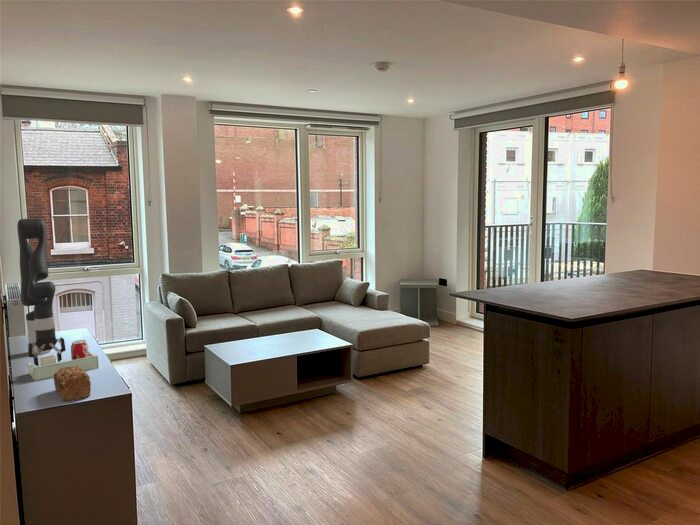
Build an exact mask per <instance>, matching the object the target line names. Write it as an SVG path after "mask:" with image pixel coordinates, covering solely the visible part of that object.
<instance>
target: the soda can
mask: <svg viewBox="0 0 700 525" xmlns="http://www.w3.org/2000/svg"><path fill="white" fill-rule="evenodd" d="M70 355H71V358H70V359H71V360H76V359H81V358H86V357H89V345H88V343H87V340H85V339H80V340H78V339H77V340H74V341H72V342H71V345H70Z"/></svg>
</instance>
